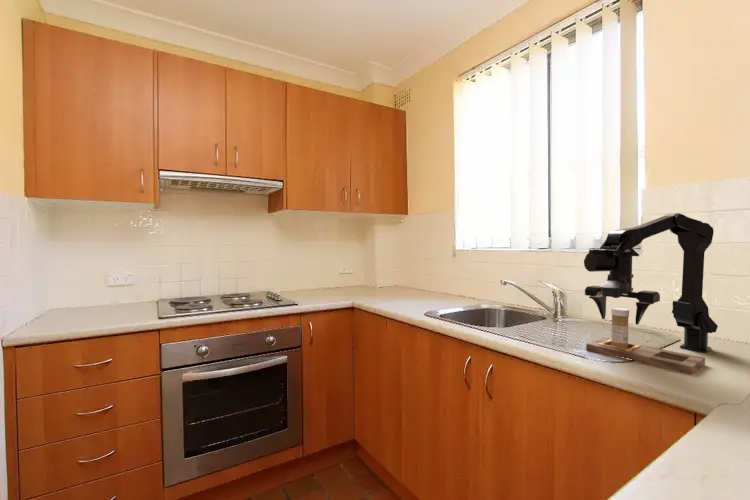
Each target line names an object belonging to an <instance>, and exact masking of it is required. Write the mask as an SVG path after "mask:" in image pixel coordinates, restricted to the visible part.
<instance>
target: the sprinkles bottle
mask: <svg viewBox="0 0 750 500" xmlns="http://www.w3.org/2000/svg"><path fill="white" fill-rule="evenodd" d="M610 311H611V312H610V313H611V329H610V332H611V334H610V336H611V337H610V339H611V340H612V341H611V346H614V347H619V348H624V349H628V343H629V328H630V327H629V317H630V310H629V309H627V308H622V307H613V308H611V310H610Z"/></svg>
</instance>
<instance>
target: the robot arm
mask: <svg viewBox="0 0 750 500" xmlns="http://www.w3.org/2000/svg"><path fill="white" fill-rule="evenodd" d="M668 230H669V231H670V233H672V234H673V235H675V236H677V243H678V244H679V246H680V248H681V250H682V251H683V259H682V282H681V296H680V297H679V298H678V299H677V300H673V301H672V303H671V304H672V310H671V314H672V315H673V318H674V321H675V322H676V326H677V327H679V328H680V327H681V328H683V329H684V331H683V332H684V333H683V344H680V345H679V348H682V349H685V350H693V351H696V352H701V353H707V352H709V351H710V350H712V347H711V346H709V345H708V343H709V334H713V333H716V332H717V329H718V327H719V326H718V324H717V323H716V322H715V320H713V319H712V318H711V317H710V312H709V311H710V310H709V307H708V304H707V303H706V302H705V300H704V298H703V289H704V288H703V287H704V268H705V266H704V265H705V252H706V250H707V249H708V248H709V247H710V245H712V242H713V237H714V232H715V231H714V227H713V226H711V224H709V223H707V222H703V221H701V220H699V219H694V218H692V217H688V216H686V215H685V214H683V213H679V212H677V213H667V214H665V215H663V216H661V217H658V218H655V219H652V220H650V221H647V222H644V223H642V224H639V225H637V226H633V227H629V228H628V227H627V228H622V229H621V228H620V229H614V230H611V231H609V232H608V233H607V236H606V238H605V240H604V241H603V243H601V246H600V247H599V248H598V249H595V248H591V249H590V248H589V250H588V253H587V254H586V255H585V257H584V260H583V266H584V269H586V270H587V271H588V272H591V273H592V272H596V273H597V272H609V274H607V279H606V281H604V282H603V283H602V284H601V285H588V286H586V287H585V288H584V296H589V297H588V298H589V299H592V300H593V302H594V303H595V304H596V307H597V308H598V311H599V312H598V313H599V314H600V316H601V319H602V320H606V315H607V297H610V298H613V299H618V298H630V299H637V300H638V301H636V302H635V306H636V312H635V325H639V324H640V322H641V320H642V318H643V316H644V314H645V312H646V311H647V309H648V308H649V306H651V305H654V304H655V303H659V302H660V301H661V295H660V293H659V292H658V291H654V290H646V289H645V290H640V291H638V292H636V291H634V287H633V285H632V284H633V278H634V274H633V257H639V256H640V254H639V253H638V252H637V251H636V250H635V249H634V248H635V247H637V246H639V245H640V244H641V243H642V242H643V241H644V240H645V239H648V238H651V237H652V236H656V235H658V234H660V233H663V232H666V231H668Z"/></svg>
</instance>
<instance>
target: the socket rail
mask: <svg viewBox="0 0 750 500" xmlns="http://www.w3.org/2000/svg"><path fill="white" fill-rule="evenodd" d="M611 341H612V340H611V338H608V337H601V338H598V339H595V340H593V341H590V342H587V343H586V346H585V347H586V348H585V350H586V351H589V352H594V353H597V354H601V355H605V354H606V356H610V355H612V356H611V357H614V356H618V357H624V358H629V359H632V360H634V361H633V362H635V361H636V362H635V363H640V364H644V365H649V366H653V367H657V368H662V369H666V370H671V371H674V372H679V373H682V374H687V375H693V374H695V373H696V372H698V371H699V370H700V369H702V368H703V367H705V365H706V357H702V356H699V355H698V356H697V355H693V354H688V353H683V352H678V351H673V350H669V349H668V350H667V349H662V348H657V347H652V346H648V345H644V344H639V343H632V342H628V349H624V348H619V347H614V346H611ZM618 357H617V358H618Z"/></svg>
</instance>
